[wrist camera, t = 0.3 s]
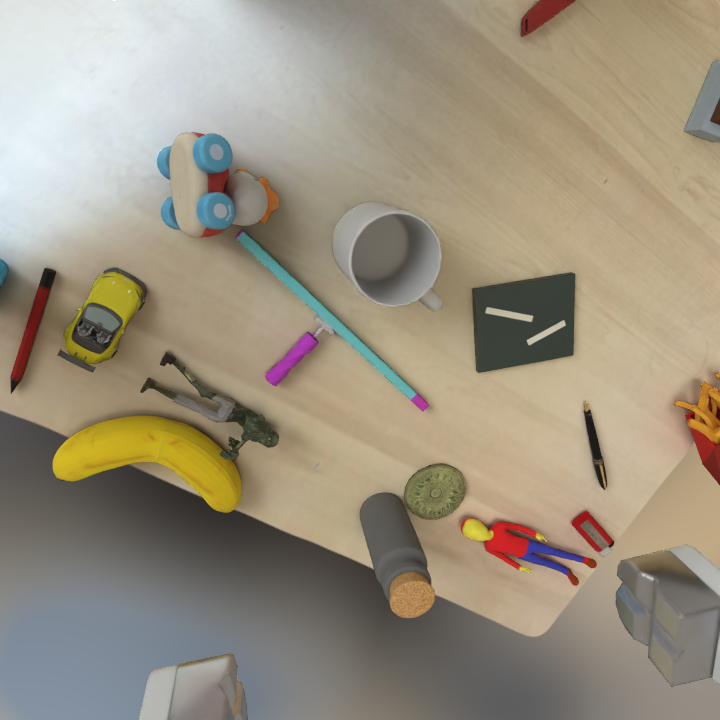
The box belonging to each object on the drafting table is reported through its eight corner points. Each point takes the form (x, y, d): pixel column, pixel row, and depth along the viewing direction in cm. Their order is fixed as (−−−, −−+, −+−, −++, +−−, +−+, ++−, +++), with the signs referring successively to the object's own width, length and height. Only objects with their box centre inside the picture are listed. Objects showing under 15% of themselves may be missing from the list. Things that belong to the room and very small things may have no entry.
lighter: (570, 522, 73) (597, 552, 77) (575, 528, 72) (602, 558, 75) (586, 509, 73) (613, 540, 76) (591, 515, 72) (618, 546, 75)
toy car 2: (153, 137, 48) (249, 149, 55) (161, 237, 50) (253, 237, 57) (198, 121, 42) (302, 137, 48) (206, 237, 44) (304, 237, 50)
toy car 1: (154, 288, 54) (148, 294, 51) (107, 367, 56) (99, 378, 53) (106, 260, 52) (97, 265, 49) (59, 343, 54) (47, 352, 51)
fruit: (233, 527, 60) (41, 489, 55) (236, 499, 64) (58, 462, 59) (259, 458, 57) (57, 411, 51) (260, 434, 61) (74, 388, 55)
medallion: (395, 509, 68) (396, 513, 67) (419, 456, 66) (420, 459, 65) (449, 522, 70) (451, 526, 69) (474, 472, 68) (476, 475, 67)
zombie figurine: (157, 370, 50) (290, 444, 55) (167, 348, 56) (286, 417, 61) (127, 415, 51) (261, 484, 56) (140, 388, 57) (259, 452, 62)
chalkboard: (472, 288, 60) (474, 290, 59) (571, 272, 61) (575, 273, 60) (475, 370, 63) (478, 373, 63) (569, 353, 65) (573, 355, 64)
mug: (314, 245, 55) (326, 262, 45) (372, 183, 54) (397, 187, 44) (392, 320, 59) (420, 351, 49) (447, 264, 58) (487, 285, 48)
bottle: (395, 484, 67) (430, 568, 53) (410, 519, 69) (447, 608, 55) (352, 503, 67) (376, 592, 53) (369, 538, 69) (396, 631, 55)
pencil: (12, 397, 54) (18, 394, 55) (52, 273, 51) (57, 271, 52) (3, 394, 54) (9, 390, 55) (42, 269, 51) (47, 267, 52)
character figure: (583, 598, 72) (466, 554, 66) (561, 584, 76) (449, 541, 70) (599, 559, 73) (483, 512, 66) (576, 546, 77) (466, 501, 70)
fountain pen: (577, 400, 67) (585, 404, 66) (584, 396, 68) (593, 399, 66) (598, 490, 72) (606, 495, 71) (604, 486, 73) (613, 491, 71)
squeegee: (173, 304, 53) (241, 230, 52) (175, 300, 54) (242, 228, 53) (369, 464, 64) (429, 406, 62) (366, 457, 65) (425, 400, 64)
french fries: (775, 481, 68) (770, 399, 61) (709, 502, 70) (695, 425, 62) (732, 435, 76) (722, 356, 68) (673, 455, 77) (657, 381, 70)
